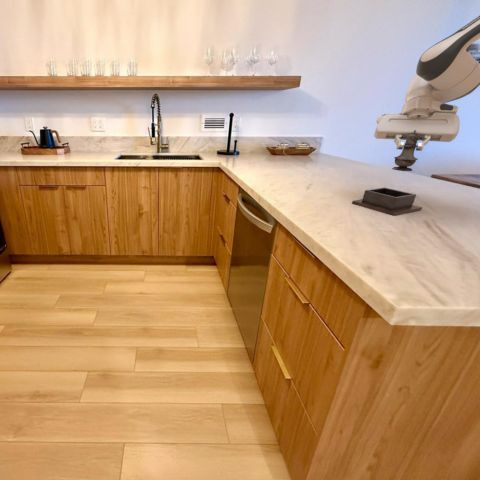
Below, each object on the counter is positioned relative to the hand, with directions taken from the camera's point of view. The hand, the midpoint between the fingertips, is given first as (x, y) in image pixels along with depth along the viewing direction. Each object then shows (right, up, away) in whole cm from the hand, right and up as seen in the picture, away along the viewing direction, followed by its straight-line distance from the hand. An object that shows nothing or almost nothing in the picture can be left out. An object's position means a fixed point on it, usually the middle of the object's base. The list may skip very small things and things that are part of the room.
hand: (409, 148), depth 89 cm
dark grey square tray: (-1, -17, +9) cm, 19 cm away
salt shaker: (+1, -6, +4) cm, 7 cm away
